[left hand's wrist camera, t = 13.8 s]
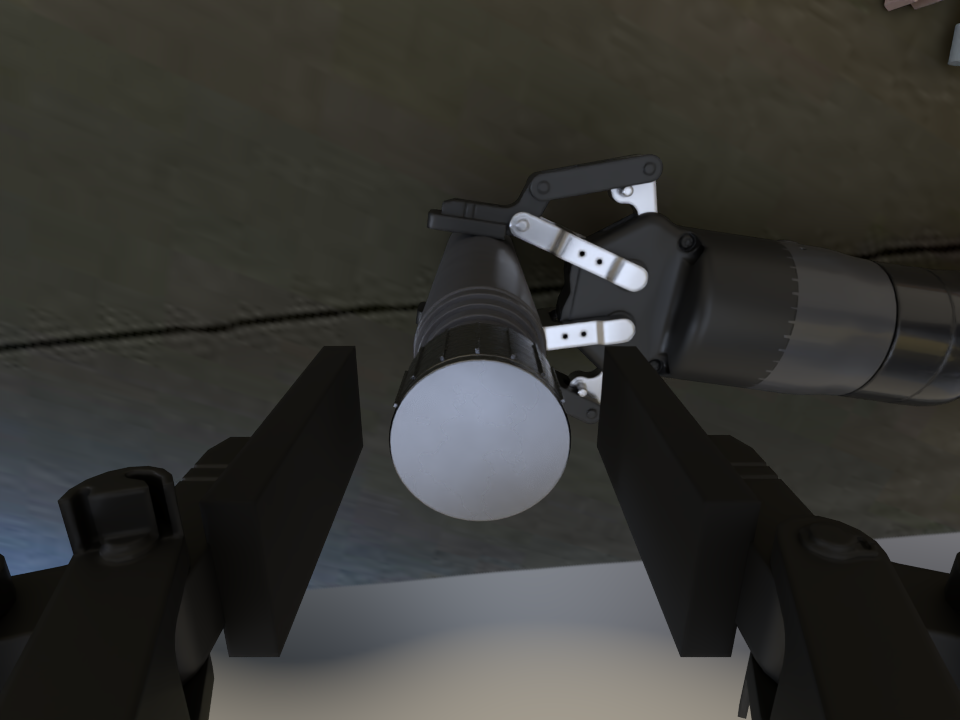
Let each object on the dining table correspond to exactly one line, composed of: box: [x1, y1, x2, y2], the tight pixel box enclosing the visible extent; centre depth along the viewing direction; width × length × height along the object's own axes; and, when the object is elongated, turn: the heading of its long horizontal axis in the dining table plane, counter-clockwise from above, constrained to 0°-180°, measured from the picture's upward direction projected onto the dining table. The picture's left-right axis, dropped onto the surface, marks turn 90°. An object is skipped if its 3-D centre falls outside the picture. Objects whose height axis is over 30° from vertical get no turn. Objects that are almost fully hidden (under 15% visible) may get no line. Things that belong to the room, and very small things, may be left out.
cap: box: [389, 322, 571, 521], centre depth 13 cm, size 4×4×3 cm
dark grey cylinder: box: [414, 232, 547, 358], centre depth 23 cm, size 4×4×24 cm
